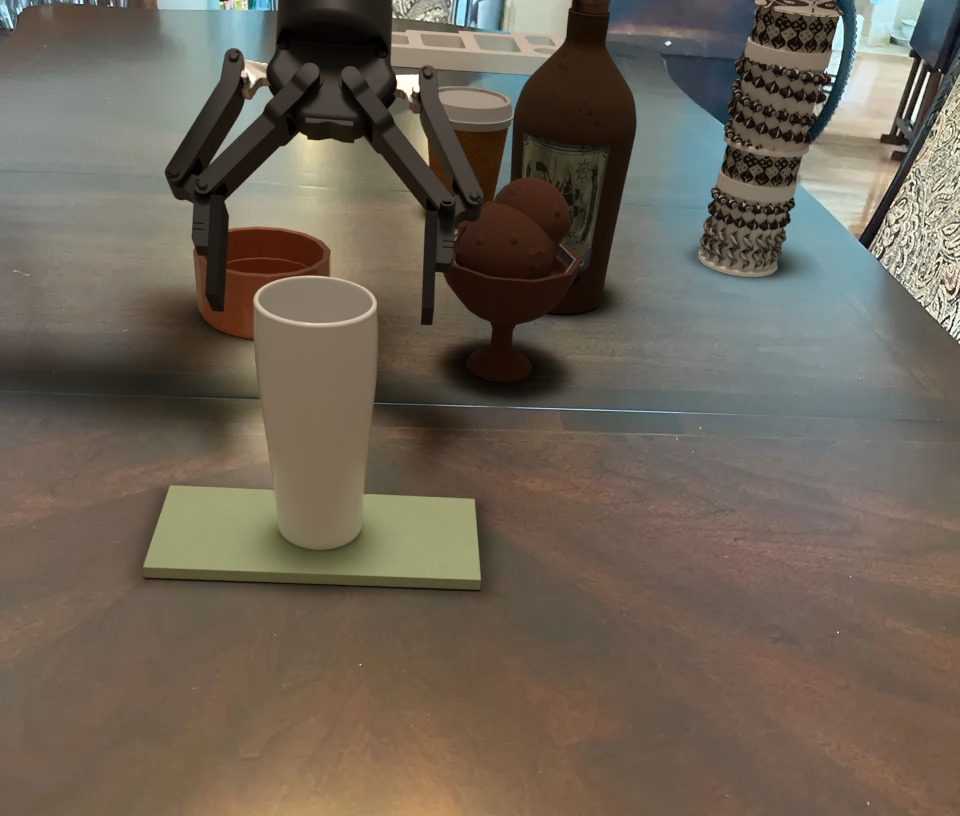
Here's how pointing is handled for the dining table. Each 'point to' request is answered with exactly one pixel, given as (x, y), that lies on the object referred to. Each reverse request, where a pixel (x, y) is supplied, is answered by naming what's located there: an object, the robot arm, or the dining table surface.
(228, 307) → the pot
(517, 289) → the ice cream bowl
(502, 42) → the holder
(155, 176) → the dining table surface
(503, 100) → the disposable coffee cup
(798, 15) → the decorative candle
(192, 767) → the dining table surface
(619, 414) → the dining table surface
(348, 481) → the drinking glass
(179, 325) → the dining table surface
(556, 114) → the olive oil
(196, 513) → the mat
